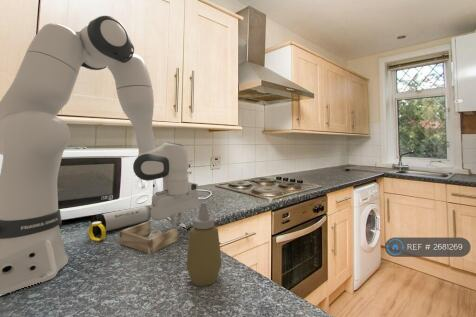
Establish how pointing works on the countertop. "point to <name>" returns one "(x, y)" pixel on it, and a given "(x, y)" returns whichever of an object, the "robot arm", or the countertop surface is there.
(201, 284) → the squeeze bottle
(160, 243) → the box
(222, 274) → the countertop surface
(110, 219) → the travel mug
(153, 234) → the pale pinkish lump
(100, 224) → the watch
